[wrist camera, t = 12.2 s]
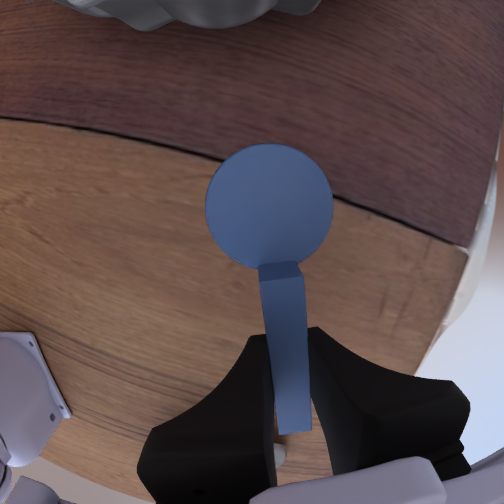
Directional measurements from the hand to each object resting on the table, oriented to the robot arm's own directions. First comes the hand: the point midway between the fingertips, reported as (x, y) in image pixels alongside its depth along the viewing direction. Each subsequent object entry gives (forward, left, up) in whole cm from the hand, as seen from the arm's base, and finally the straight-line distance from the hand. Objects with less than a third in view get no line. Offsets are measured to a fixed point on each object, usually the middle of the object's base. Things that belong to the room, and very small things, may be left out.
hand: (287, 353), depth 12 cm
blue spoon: (+2, 0, -2) cm, 3 cm away
